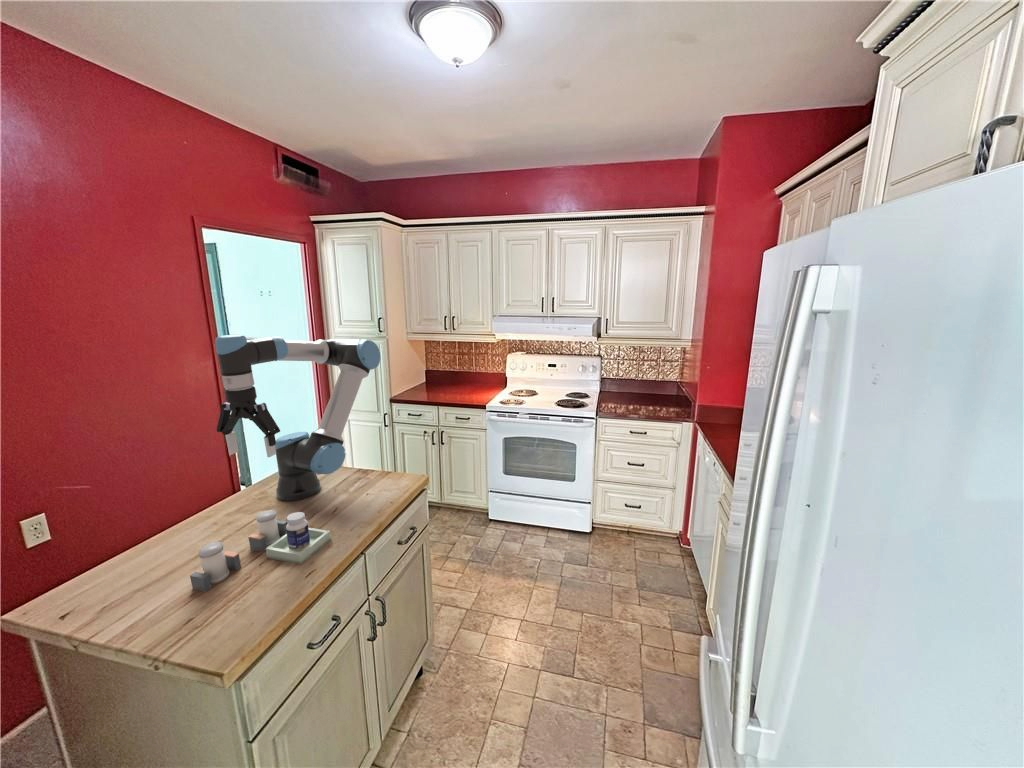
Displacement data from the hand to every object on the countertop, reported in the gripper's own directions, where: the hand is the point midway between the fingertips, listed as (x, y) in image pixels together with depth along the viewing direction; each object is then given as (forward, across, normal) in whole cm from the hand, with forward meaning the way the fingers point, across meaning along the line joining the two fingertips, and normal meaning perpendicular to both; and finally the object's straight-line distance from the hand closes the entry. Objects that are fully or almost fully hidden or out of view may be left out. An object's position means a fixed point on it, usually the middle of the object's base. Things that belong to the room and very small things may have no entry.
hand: (252, 454), depth 122 cm
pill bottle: (+26, +18, -7) cm, 32 cm away
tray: (+26, +18, -7) cm, 32 cm away
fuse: (+26, +6, -5) cm, 27 cm away
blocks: (+26, +5, -14) cm, 30 cm away
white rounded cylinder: (+26, +4, -22) cm, 34 cm away
